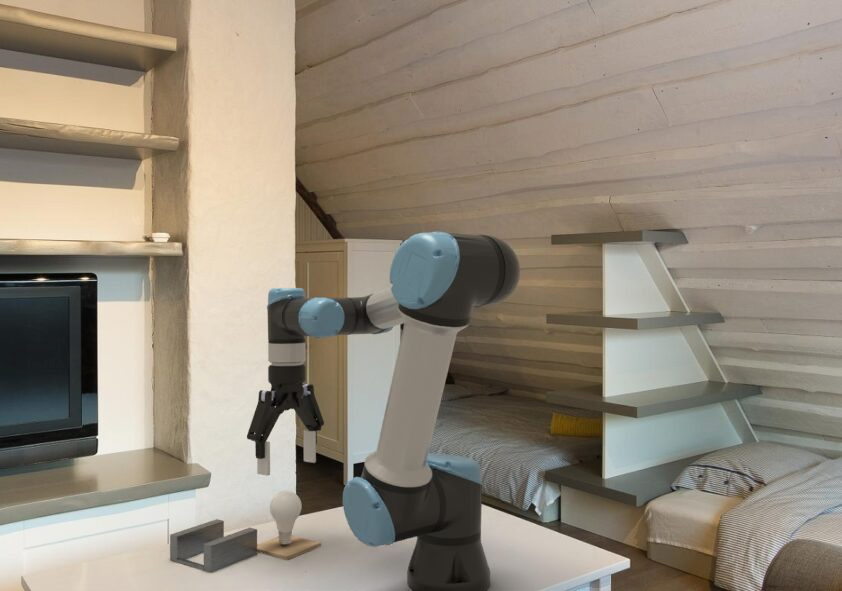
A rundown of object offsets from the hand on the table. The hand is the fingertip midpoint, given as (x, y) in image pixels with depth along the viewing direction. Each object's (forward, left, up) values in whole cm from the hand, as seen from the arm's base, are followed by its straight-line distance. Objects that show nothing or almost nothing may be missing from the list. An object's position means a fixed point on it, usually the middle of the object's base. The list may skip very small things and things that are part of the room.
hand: (287, 468), depth 162 cm
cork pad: (0, 0, -17) cm, 17 cm away
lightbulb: (0, 0, -16) cm, 16 cm away
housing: (+8, +12, -17) cm, 22 cm away
